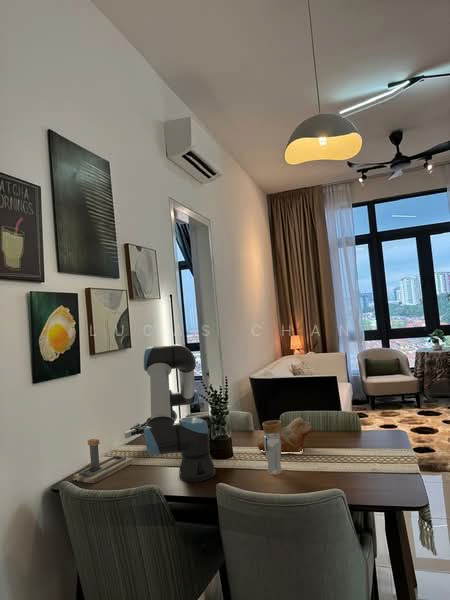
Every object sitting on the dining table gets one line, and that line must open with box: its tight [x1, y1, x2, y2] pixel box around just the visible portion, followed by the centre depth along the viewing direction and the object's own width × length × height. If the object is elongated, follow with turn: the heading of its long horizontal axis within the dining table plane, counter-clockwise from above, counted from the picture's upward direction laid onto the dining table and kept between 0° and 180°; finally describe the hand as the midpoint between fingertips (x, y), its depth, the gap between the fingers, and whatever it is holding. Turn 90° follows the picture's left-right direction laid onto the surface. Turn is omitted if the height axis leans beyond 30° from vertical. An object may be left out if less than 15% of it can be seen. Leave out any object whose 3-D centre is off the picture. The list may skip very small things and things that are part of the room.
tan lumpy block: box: [257, 416, 313, 452], centre depth 199 cm, size 14×26×15 cm, turn 80°
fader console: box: [72, 454, 133, 484], centre depth 189 cm, size 12×24×3 cm, turn 152°
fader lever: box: [87, 438, 101, 472], centre depth 185 cm, size 5×2×13 cm, turn 62°
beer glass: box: [264, 433, 283, 473], centre depth 174 cm, size 7×7×15 cm
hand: (125, 435), depth 204 cm, fingers closed
